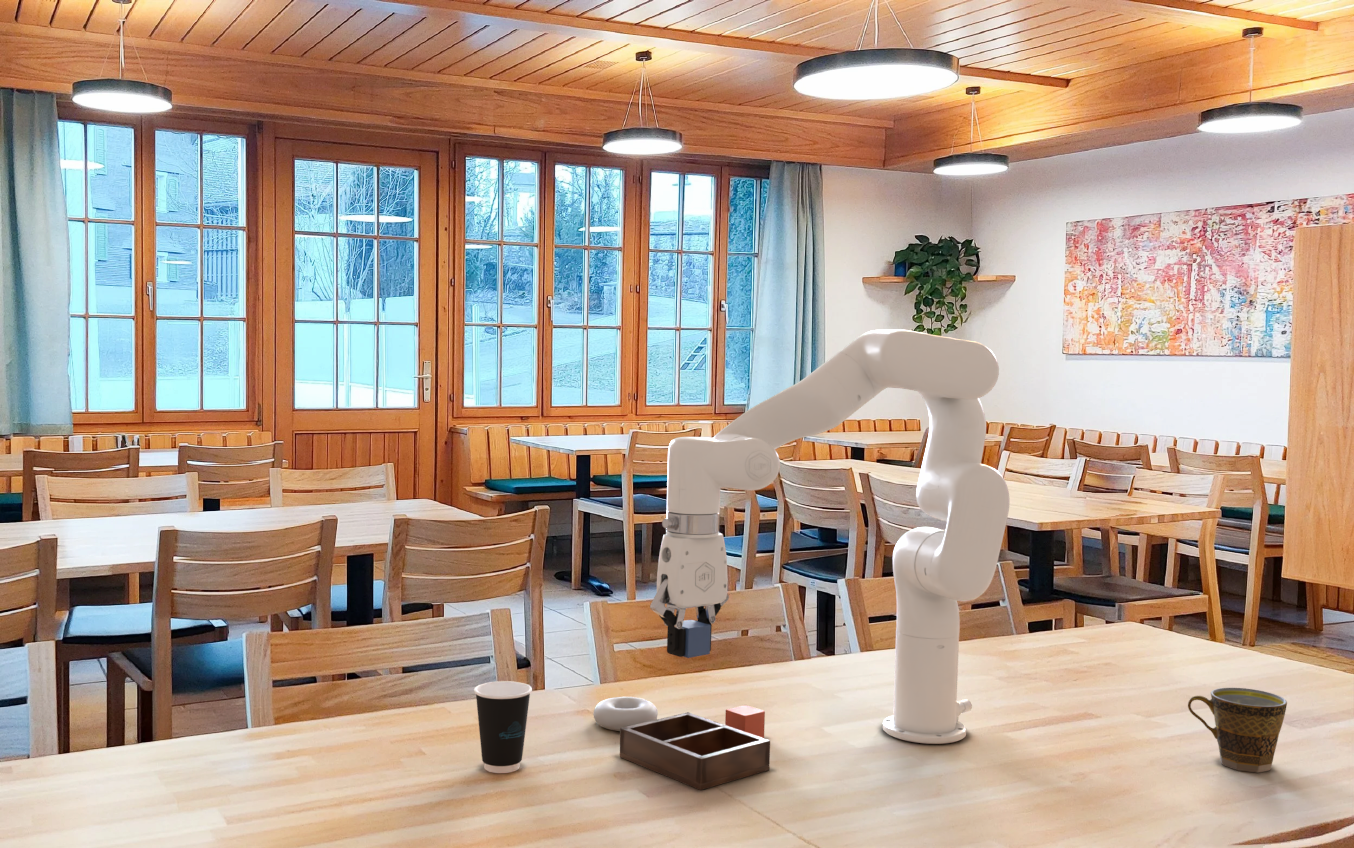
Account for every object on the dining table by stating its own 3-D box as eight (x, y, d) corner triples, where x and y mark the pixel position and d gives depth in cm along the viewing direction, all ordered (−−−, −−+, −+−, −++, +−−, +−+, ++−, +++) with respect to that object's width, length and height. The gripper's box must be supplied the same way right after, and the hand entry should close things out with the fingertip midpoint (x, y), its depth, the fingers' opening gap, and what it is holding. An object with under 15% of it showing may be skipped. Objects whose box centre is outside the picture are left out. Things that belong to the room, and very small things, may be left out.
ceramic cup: (1278, 758, 182) (1282, 691, 182) (1288, 780, 173) (1291, 709, 172) (1183, 747, 187) (1186, 682, 186) (1187, 768, 177) (1190, 699, 177)
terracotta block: (744, 731, 190) (745, 704, 189) (764, 738, 187) (765, 710, 186) (724, 736, 187) (725, 709, 187) (744, 743, 184) (745, 715, 183)
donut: (585, 732, 188) (650, 736, 186) (585, 709, 188) (650, 713, 186) (602, 713, 198) (664, 717, 196) (602, 692, 198) (664, 695, 196)
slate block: (690, 648, 180) (690, 619, 179) (709, 653, 176) (710, 624, 176) (668, 652, 177) (669, 623, 177) (688, 658, 174) (688, 628, 173)
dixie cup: (516, 779, 166) (517, 698, 165) (462, 772, 168) (463, 692, 168) (540, 761, 174) (541, 684, 173) (488, 755, 176) (489, 678, 175)
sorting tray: (687, 739, 185) (688, 711, 185) (769, 769, 172) (770, 740, 172) (619, 757, 176) (620, 727, 176) (700, 790, 164) (701, 758, 164)
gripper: (665, 532, 167) (661, 666, 168) (753, 523, 178) (749, 649, 179) (629, 525, 173) (626, 655, 174) (717, 517, 184) (713, 639, 185)
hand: (688, 651), depth 177 cm, fingers closed on slate block, 4 cm apart
